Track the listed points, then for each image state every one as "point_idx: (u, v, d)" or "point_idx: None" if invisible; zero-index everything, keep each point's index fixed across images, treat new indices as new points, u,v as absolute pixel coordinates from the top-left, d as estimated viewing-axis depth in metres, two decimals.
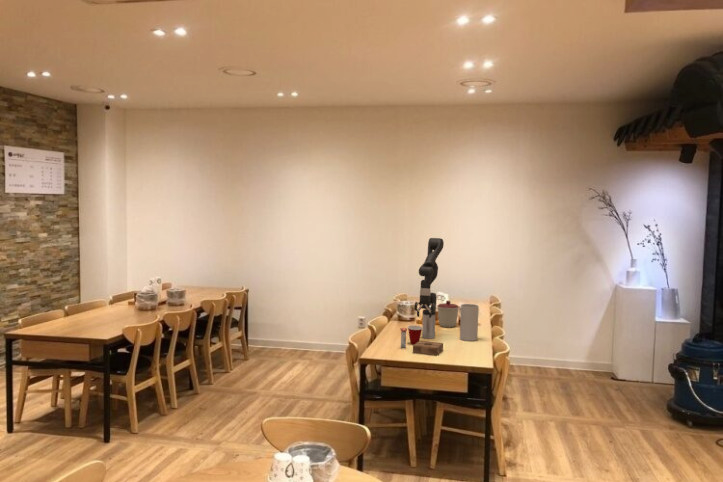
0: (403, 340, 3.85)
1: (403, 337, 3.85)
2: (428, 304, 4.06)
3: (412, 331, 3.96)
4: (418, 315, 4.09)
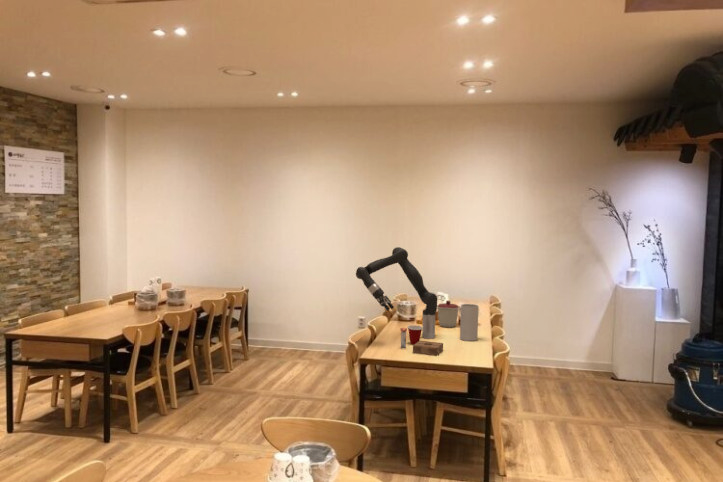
0: (403, 340, 3.85)
1: (403, 337, 3.85)
2: None
3: (412, 331, 3.96)
4: None
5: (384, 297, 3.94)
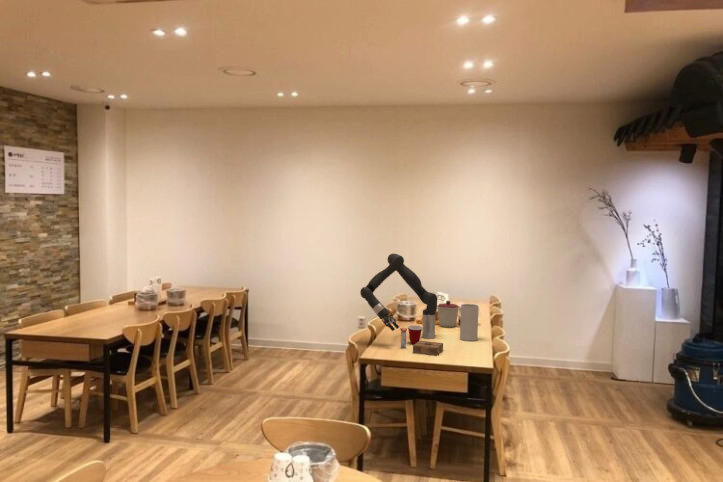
0: (403, 340, 3.85)
1: (403, 337, 3.85)
2: None
3: (412, 331, 3.96)
4: (396, 327, 3.93)
5: (389, 317, 3.91)
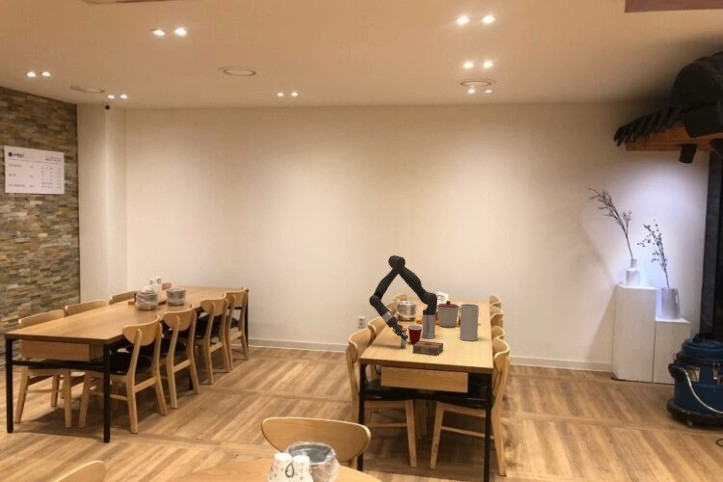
0: (403, 340, 3.85)
1: None
2: None
3: (412, 331, 3.96)
4: None
5: (398, 325, 3.89)
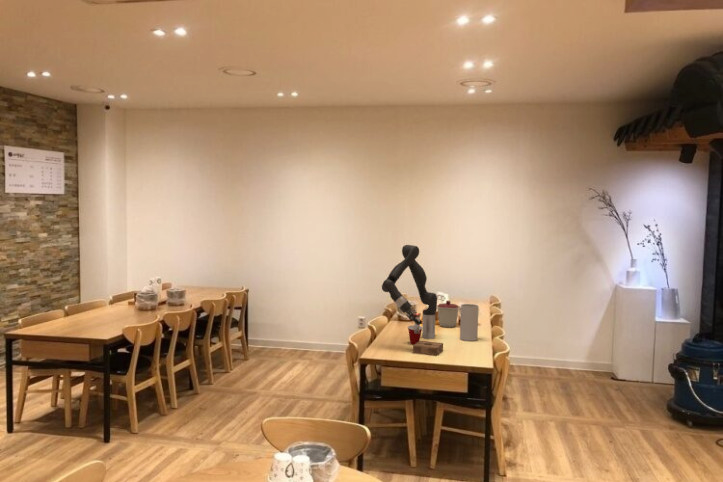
0: (417, 325, 3.80)
1: None
2: None
3: (412, 331, 3.96)
4: None
5: (412, 310, 3.83)
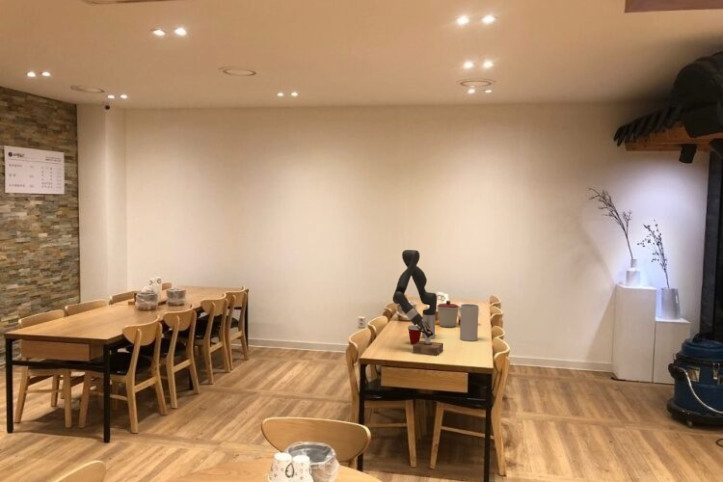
0: (427, 343, 3.77)
1: (427, 340, 3.77)
2: None
3: (412, 331, 3.96)
4: (430, 335, 3.80)
5: (423, 322, 3.79)
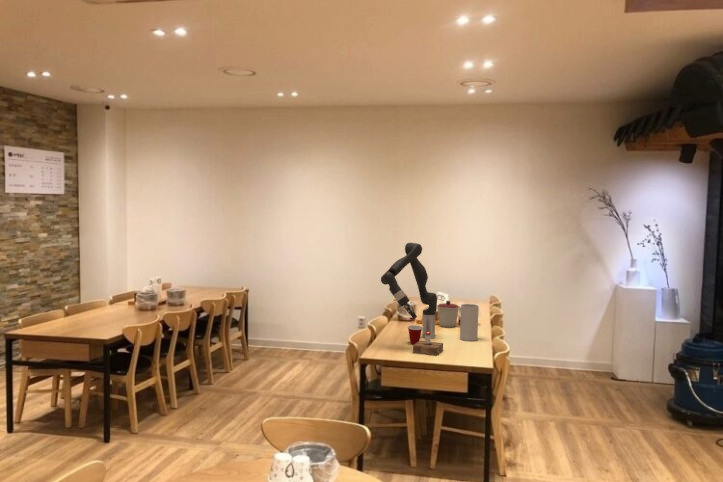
0: (427, 343, 3.77)
1: (427, 340, 3.77)
2: None
3: (412, 331, 3.96)
4: None
5: (409, 305, 3.85)
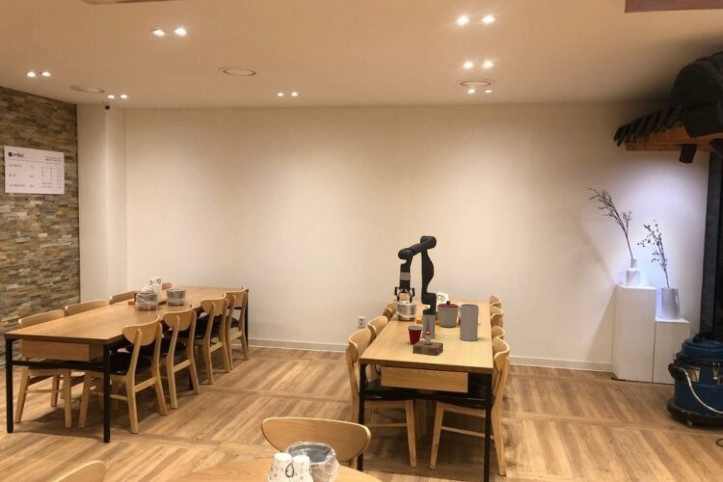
0: (427, 343, 3.77)
1: (427, 340, 3.77)
2: (408, 289, 3.89)
3: (412, 331, 3.96)
4: (398, 300, 3.92)
5: None
